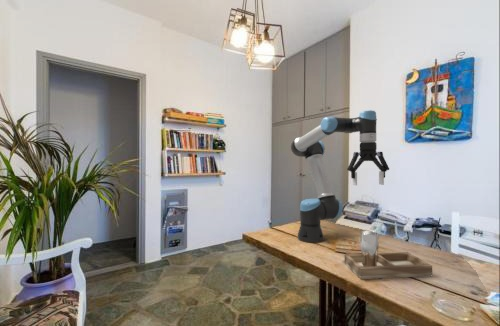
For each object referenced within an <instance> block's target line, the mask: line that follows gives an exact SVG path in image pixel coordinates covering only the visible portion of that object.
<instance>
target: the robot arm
mask: <svg viewBox="0 0 500 326" xmlns="http://www.w3.org/2000/svg"><path fill="white" fill-rule="evenodd" d="M377 120H378V119H377V112H376V110H372V109H369V110H362V111H360V112H359V115H358V117H352V118H350V117H337V116H336V117H335V116H328V117H324V118H322V120H321V122H320V124H318V126H316V127H315V128H313V129H312V130H310V131H309V132H307V133H305V134H304V135H303V136H298V137H296V138H295V139H294V140H293V141H292V142H291V145H290V150H291V152H292V154H293V155H295V157H296V156H297V157H302V158H303V157H304V158H305V161H306V162H308V164H309V167H310V171H311V175H312V179H313V183H314V187H315V191H316V194H317V198H315V197H314V198H307V199H303V200H301V202H300V205H299V211H300V212H299V213H300V214H299V215H300V221H299V222H300V225H299V229H298V232H297V239H298V240H300V241H301V242H306V243H312V244H314V243H321V242H323V241H324V239H325V238H324V232H323V230H322V227H321V221H325V220H334V219H338V218H340V216H342V213H343V204H342V203H343V202H341V200H340V199H337V198H336V195H335V194H333V193H332V189H331V187H330V183H329V180H328V175H327V172H326V170H325V165H324V162H323V157H324V155H325V150H326V148H325V145H324V143H323V141H322V140H323V139H325V138H327V137H329V136H331V135H333V134H334V133H344V134H352V133H358V132H359V142H360V143H359V151H354V152H353V153H352V154H353V155H352V158H351V161H350V163H349V165H348V167H347V171H348V172H350V173H351V175H350V177H351V179H352V185H353V186H358V171H357V170H358V169H359V168H360V166H361V165H362V164H363V163H364V162H373V163H374V165H376V167H377V169H379V170H380V171H378V183H379V185H381V186H382V185H383V186H384V185H385V178H386V172H387V171H389V170H390V167H389V166H388V165H389V164H388V162H387V161H386V160H385V156H384V153H383V151H377V146H378V145H377ZM359 156H360V157H359ZM357 160H358V161H357Z"/></svg>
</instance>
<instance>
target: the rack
mask: <svg viewBox="0 0 500 326" xmlns="http://www.w3.org/2000/svg"><path fill="white" fill-rule="evenodd" d="M362 261H363V255H362V253H354V254H353V253H352V254H344V265H346V267H347V268H348V269H350V271H351V272H353V274H354V275H355V276H357V277H358V278H359V279H360V280H368V279H369V280H372V279H392V278H393V279H394V278H415V277H417V276H420V277H432V276H433V265H431V264H430V263H428V262H426V261H424V260H423V259H421V258H419V257H418V256H415V255H414V254H412V253H410V252H408V251H404V252H400V251H399V252H381V253H380V252H378V253H377V259H376V262H377V266H371V267H362ZM431 275H432V276H431ZM417 278H418V277H417Z"/></svg>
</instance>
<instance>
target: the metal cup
mask: <svg viewBox="0 0 500 326" xmlns="http://www.w3.org/2000/svg"><path fill="white" fill-rule="evenodd" d="M379 241H380V240H379V233H378V232H377V231H373V230H367V229H365V230H361V231H360V249H361V254H362V255H363V261H362V267H371V266H377V262H376V259H377V253H379V243H380V242H379Z"/></svg>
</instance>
